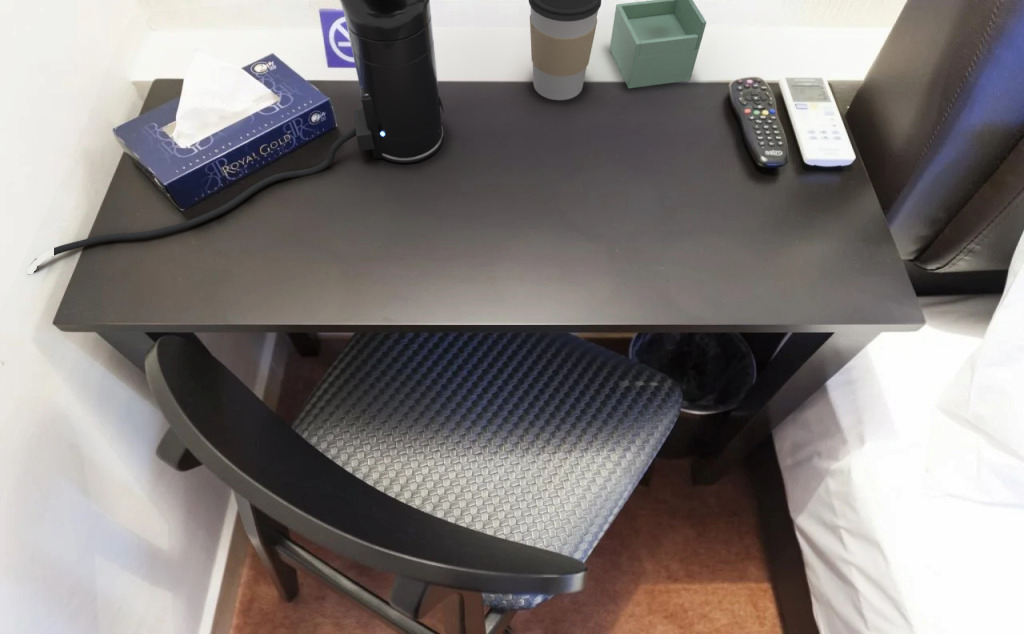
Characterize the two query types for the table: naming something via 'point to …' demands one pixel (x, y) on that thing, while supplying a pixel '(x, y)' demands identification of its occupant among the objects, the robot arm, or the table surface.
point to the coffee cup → (561, 45)
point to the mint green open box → (656, 41)
